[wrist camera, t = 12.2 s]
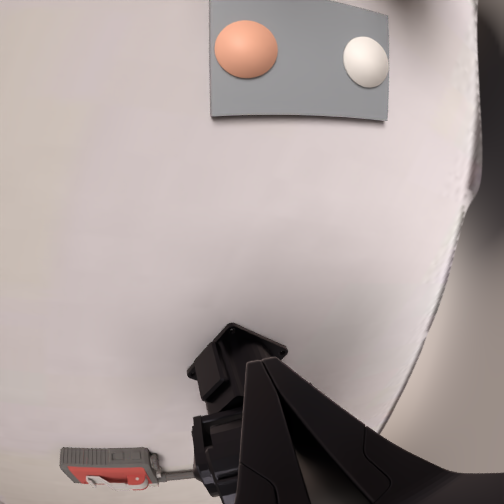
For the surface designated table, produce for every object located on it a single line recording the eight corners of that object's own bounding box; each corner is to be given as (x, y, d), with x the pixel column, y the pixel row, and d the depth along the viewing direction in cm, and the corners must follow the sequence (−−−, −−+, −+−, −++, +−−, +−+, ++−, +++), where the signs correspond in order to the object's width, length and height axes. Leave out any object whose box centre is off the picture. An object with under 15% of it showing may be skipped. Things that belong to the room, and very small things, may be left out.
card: (382, 119, 20) (389, 121, 19) (210, 116, 17) (212, 116, 17) (382, 17, 16) (389, 15, 16) (209, -9, 14) (211, -13, 13)
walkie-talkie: (76, 472, 31) (214, 466, 36) (75, 499, 27) (221, 493, 32) (50, 443, 27) (211, 437, 32) (47, 473, 23) (219, 468, 28)
